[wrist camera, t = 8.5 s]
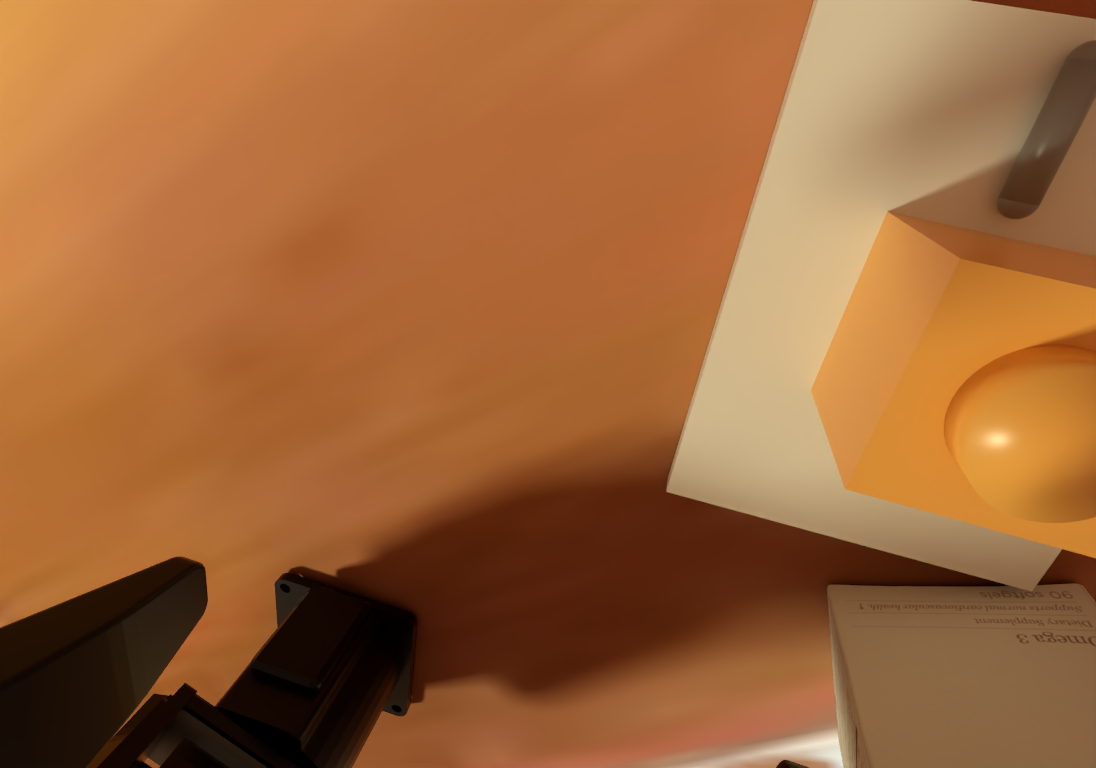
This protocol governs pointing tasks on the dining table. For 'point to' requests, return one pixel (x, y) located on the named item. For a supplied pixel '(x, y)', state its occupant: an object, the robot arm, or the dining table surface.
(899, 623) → the supplement box
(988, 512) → the orange domed cube
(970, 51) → the cream base plate
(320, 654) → the robot arm
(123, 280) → the dining table surface
